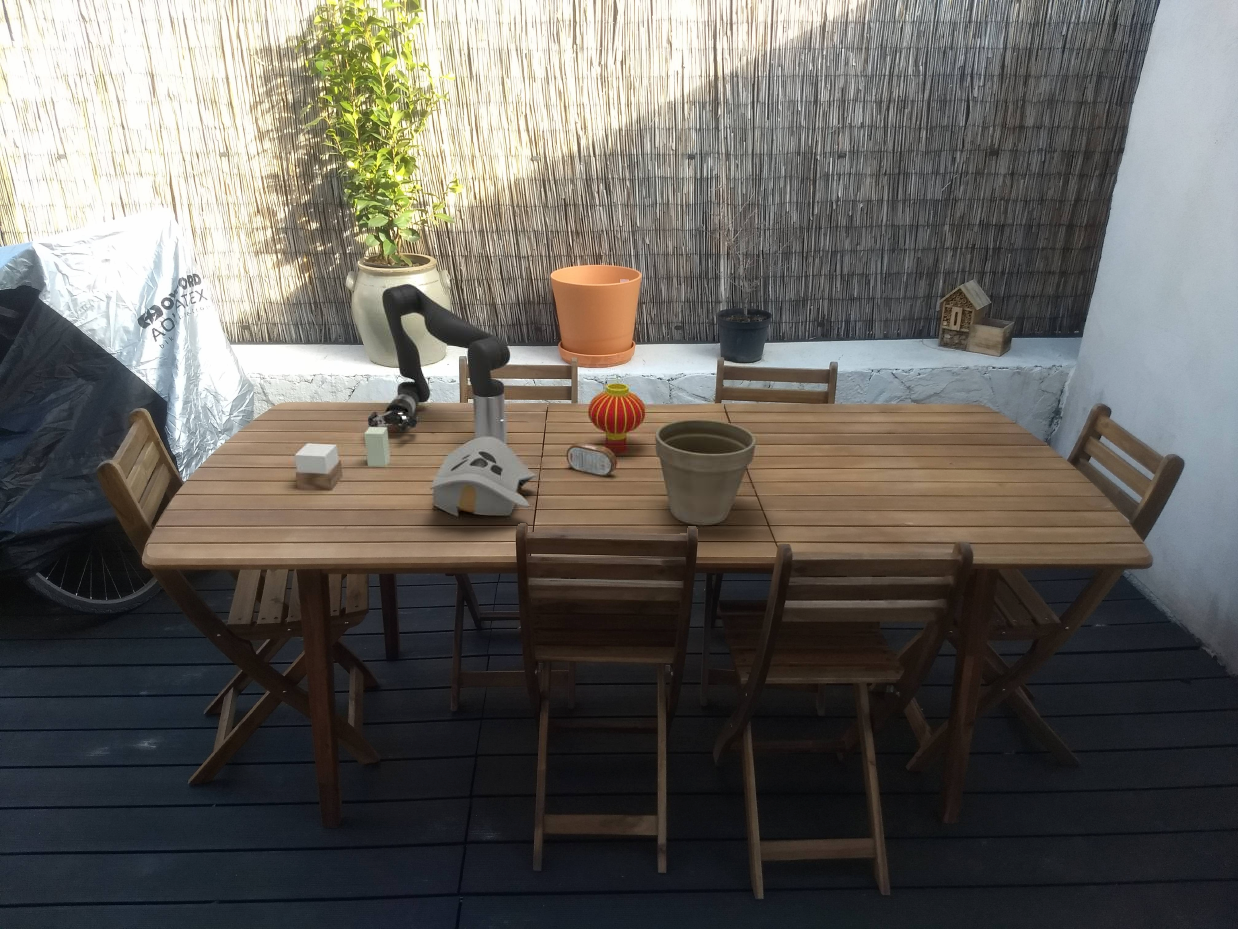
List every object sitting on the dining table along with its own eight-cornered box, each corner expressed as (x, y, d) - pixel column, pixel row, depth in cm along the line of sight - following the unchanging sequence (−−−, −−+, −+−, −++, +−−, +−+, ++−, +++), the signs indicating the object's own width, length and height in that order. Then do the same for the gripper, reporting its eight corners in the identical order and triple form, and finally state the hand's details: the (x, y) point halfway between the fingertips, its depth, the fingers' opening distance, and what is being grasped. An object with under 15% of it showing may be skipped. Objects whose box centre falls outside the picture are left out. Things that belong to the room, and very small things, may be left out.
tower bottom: (342, 476, 221) (340, 460, 219) (331, 491, 213) (329, 474, 211) (310, 476, 221) (307, 459, 219) (298, 490, 213) (295, 473, 211)
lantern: (578, 454, 239) (579, 357, 226) (601, 435, 253) (602, 343, 241) (631, 464, 233) (635, 366, 221) (651, 444, 248) (656, 350, 235)
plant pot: (694, 483, 223) (700, 410, 214) (767, 514, 207) (776, 436, 198) (631, 510, 207) (634, 433, 198) (705, 546, 191) (711, 464, 182)
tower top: (338, 461, 219) (336, 444, 217) (327, 473, 211) (324, 456, 209) (310, 460, 219) (307, 443, 217) (297, 472, 212) (294, 455, 210)
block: (390, 459, 232) (387, 427, 228) (385, 466, 228) (382, 434, 224) (372, 459, 232) (369, 427, 228) (368, 466, 228) (364, 433, 224)
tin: (617, 475, 226) (617, 448, 223) (612, 480, 224) (612, 452, 220) (570, 465, 232) (570, 438, 228) (564, 469, 229) (564, 442, 226)
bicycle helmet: (443, 475, 219) (452, 423, 213) (534, 495, 222) (545, 445, 215) (418, 523, 194) (427, 466, 188) (521, 546, 196) (533, 490, 190)
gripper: (377, 397, 251) (362, 416, 236) (422, 398, 251) (410, 417, 236) (379, 419, 254) (364, 439, 239) (424, 421, 254) (412, 440, 239)
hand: (387, 428), depth 238 cm, fingers open, 8 cm apart
